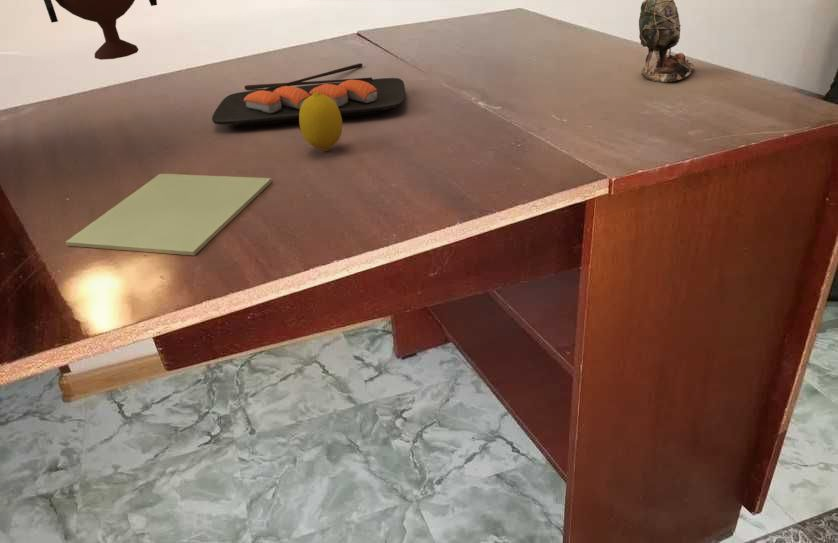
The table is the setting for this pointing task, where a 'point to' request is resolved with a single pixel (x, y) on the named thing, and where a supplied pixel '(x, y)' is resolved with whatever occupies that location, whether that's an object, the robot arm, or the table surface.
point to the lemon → (320, 121)
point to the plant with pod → (662, 41)
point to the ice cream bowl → (104, 23)
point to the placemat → (171, 214)
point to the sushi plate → (286, 100)
